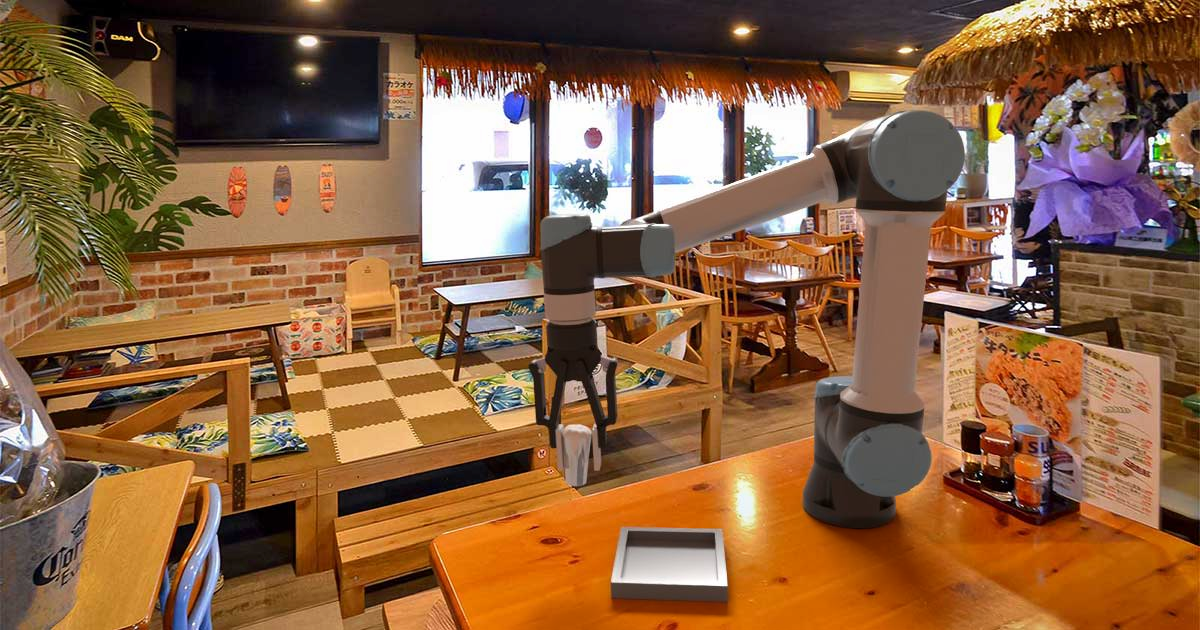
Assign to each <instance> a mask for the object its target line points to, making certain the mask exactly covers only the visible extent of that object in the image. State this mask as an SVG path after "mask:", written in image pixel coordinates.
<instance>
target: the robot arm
mask: <svg viewBox="0 0 1200 630" xmlns="http://www.w3.org/2000/svg"><path fill="white" fill-rule="evenodd" d="M965 152H966V151H965V146H964V141H963V138H962V136H961V133H960V132H959V130H958V129H957V128H956V126H954V125H953V123H952V122H950V120H949V119H947V118H946V117H945V116H943V115H941V114H939V113H937V112H933V111H929V110H920V109H919V110H918V109H917V110H915V109H910V110H899V111H896V112H894V113H891V114H890V115H884V116H880V117H876V118H873V119H871V120H868V121H866V122H864V123H862V124H860V125H858V126H856V127H855V128H853V129H850V130H849V131H847V132H846V133H843V134H841V135H839V136H837V137H835V138H833V139H831V140H828V141H826V142H823V143H821V144H817V145H815V146H813V149H812V150H811V152H810V154H809V155H806V156H804V157H801V158H798V159H795V160H793V161H791V162H787V163H784V164H782V165H781V164H780V165H779V166H775V167H773V168H771V169H768V170H765V171H763V172H760V173H757V174H755V175H751V176H749V177H746V178H743V179H740V180H737V181H735V182H732V183H730V184H726V185H724V186H722V187H719V188H716V189H715V188H714V189H713V190H711V191H708V192H705V193H702V194H699V195H697V196H693V197H691V198H688V199H685V200H682V201H680V202H677V203H674V204H671V205H669V206H667V207H664V208H661V209H659V210H657V211H653V212H650V213H646V214H645V215H642V216H639V217H632V218H629V219H626V220H624V221H623V222H622V223H621V224H620V225H615V226H593V223H592V219H591V216H590V214H588V213H567V214H566V213H563V214H552V215H547V216H545V217H544V218H542V220H541V221H540V225H539V226H540V229H539V230H540V247H539V251H540V261H541V271H542V273H541V275H542V284H543V285H542V286H543V299H544V300H543V301H544V303H543V304H544V318H546V319H547V322H546V323H545V332H546V333H545V334H546V345H547V346H546V348H547V349H546V352H545V355H544V357H542V358H537V359H536V358H534V359H532V361H531V362H530V363H529V364H528V369H529V372H530V374H531V376H532V377H531V378H532V379H533V380H532V381H533V395H534V396H533V398H534V412H535V423H536V425H537V426H543V427H545V428H547V429H548V437H549V438H548V439H549V440H548V441H549V447H550V449H556V459H557V461H556V462H557V471H558V472H560V471H561V472H562V471H564V470H565V463H564V450H563V440H562V431H563V430H564V428H565V427H564V424H563V423H562V424H561V423H560V424H559V421H560V416H561V412H562V411H561V410H562V405H563V399H564V395H565V390H566V384H567V382H568V383H569V382H572V381H576V382H581V384H582V387H583V388H584V392H585V394H586V397H587V400H588V404H589V407H590V410H591V413H592V416H593V419H594V422H595V423H594V424H593V427H592V430H591V432H592V434H591V440H592V454H593V470H594V471H595V472H600V469H601V465H602V454H601V449H605V448H606V446H607V442H608V436H607V427H608V426H613V425H616V424H617V420H618V417H619V416H618V415H619V413H618V398H617V385H616V384H617V383H616V372H617V368H618V365H619V359H618V358H617V357H612V358H611V357H608V356H605V355H602V352H601V351H600V348H599V346H598V344H599V343H598V328H597V326H598V324H597V321H596V320H595V318H594V317H595V316H596V315H597V311H596V310H597V308H596V295H595V293H596V292H595V279H608V278H610V279H611V278H612V279H613V278H642V277H643V278H646V277H647V278H648V277H649V279H653V278H655V277H661V276H670V275H672V274H673V273H674V272H675V270H676V253H680V252H683V251H686V250H689V249H692V248H694V247H698V246H700V245H703V244H706V243H708V242H712V241H714V240H718V239H720V238H723V237H726V236H728V235H731V234H732V235H733V234H735V233H737V232H740V231H743V230H746V229H749V228H752V227H754V226H758V225H760V224H763V223H766V222H768V221H772V220H774V219H778V218H780V217H783V216H785V215H786V216H787V215H789V214H792V213H794V212H798V211H801V210H803V209H806V208H808V207H812V206H815V205H818V204H820V203H824V202H826V203H828V204H831V205H837V204H839V203H842V202H846V201H848V200H852V199H855V212H856V213H857V214H858V215H859V217H860V218H861V219H862V220H863V221H864V223H865V225H864V235H863V236H864V238H863V251H862V260H861V261H862V262H861V271H860V272H861V273H860V283H859V285H860V286H859V296H858V306H857V307H858V308H857V318H856V319H857V320H856V331H855V332H856V334H855V343H854V353H853V354H854V355H853V366H852V375H846V376H845V375H841V376H829V377H824V378H822V379H820V380H818V382H817V383H816V384H815V389H814V396H813V399H814V421H813V422H814V423H813V425H814V430H813V433H814V434H813V435H814V437H813V441H814V443H813V463H812V466H811V468H810V471H809V474H808V476H807V479H806V482H805V485H804V487H803V489H802V507H803V509H804V510H805V511H806V513H807V514H809V515H810V516H811V517H813V518H814V519H817V520H819V521H820V522H824V523H827V524H829V525H833V526H837V527H841V528H842V527H843V528H849V529H850V528H851V529H871V528H878V527H880V526H881V527H882V526H884V525H887V524H888V523H890V522H892V521H893V520H894V519H895V517H896V515H897V514H896V513H897V511H896V510H897V501H896V497H897V496H901V495H904V494H906V493H908V492H910V491H911V489H913V488H915V487H917V486H919V485H920V484H921V483H922V482H923V481H924V480H925V478H926V477H927V475H928V473H929V471H930V468H931V465H932V460H933V459H932V451H931V447H930V445H929V441H928V439H926V436H924V435H923V426H924V425H923V424H924V418H925V417H924V416H925V415H924V413H925V407H926V405H925V401H924V400H923V399H922V398H921V397H920V396H919V395H918V394H917V392H916V391H915V389H916V388H915V387H916V379H917V370H918V369H917V368H918V360H919V350H920V339H921V331H922V329H921V328H922V323H923V322H922V321H923V311H924V302H925V301H924V300H925V294H926V293H925V291H926V282H927V281H926V280H927V271H928V263H929V262H928V261H929V252H930V251H929V250H930V242H931V232H932V226H933V225H934V223H936V221H938V220H939V219H940V218H941V217H942V216H944V215H945V213H946V207H947V206H946V205H947V201H948V199H947V198H948V190H950V189H951V187H952V186H953V185H955V183H956V182H957V181H958V179H959V178H960V175H961V173H962V171H963V169H964V168H963V167H964V165H965V157H966V153H965ZM599 364H600V365H601V367H602V371H603V372H604V373H605V391H606V393H605V394H606V406H607V415H606V414H605V411H604V408H603V405H602V402H601V398H600V395H599V393H598V389H597V386H596V383H595V378H594V375H593V373H594V371H595V370H596V369H597V367H598V366H599ZM546 366H548V367H549V368H550V370H551V371H552V372H553V373H554V374H555V376H556V379H555V384H554V392H553V397H552V402H551V406H550V408H551V409H550V413H549V415H548V414H547V402H546V401H547V399H546V398H547V397H546V382H545V381H546V380H545V372H546V370H547V367H546ZM595 425H596V426H595Z"/></svg>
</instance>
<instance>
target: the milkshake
mask: <svg viewBox="0 0 1200 630" xmlns="http://www.w3.org/2000/svg"><path fill="white" fill-rule="evenodd" d="M595 426H596V425H595ZM562 440H563V450H564V463H565V467H564V477H565V484H566V485H568V486H570V487H580V486H584V485H585V484H587V479H588V470H589V469H588V468H589V456H590V451H591V449H590V447H591V443H592V430H591V429H590V428H589V427H588V426H585V425H583V424H568V425H567V426H565V427H564V430H563V431H562Z"/></svg>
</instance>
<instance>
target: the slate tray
mask: <svg viewBox="0 0 1200 630" xmlns="http://www.w3.org/2000/svg"><path fill="white" fill-rule="evenodd" d="M618 536H619V537H618V542H617V548H616V553H615V558H614V561H613V562H614V563H613V568H612V574H611V579H610V596H611V599H625V600H626V599H629V600H655V601H656V600H658V601H660V600H661V601H684V602H686V601H687V602H688V601H691V602H712V603H713V602H715V603H716V602H717V603H728V602H729V596H728V595H729V593H728V592H729V585H728V575H727V564H726V554H725V544H724V534H723V528H700V527H699V528H696V527H695V528H694V527H693V528H688V527H645V526H644V527H641V526H640V527H639V526H620V531H619V535H618Z"/></svg>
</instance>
